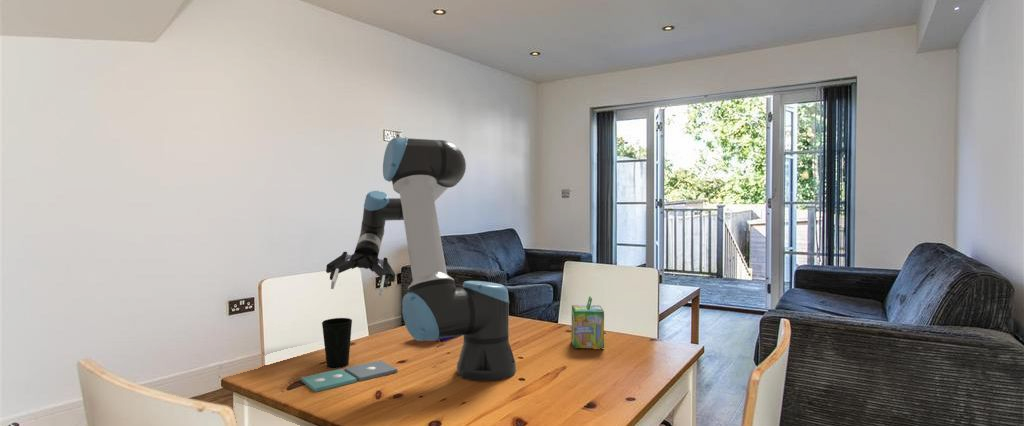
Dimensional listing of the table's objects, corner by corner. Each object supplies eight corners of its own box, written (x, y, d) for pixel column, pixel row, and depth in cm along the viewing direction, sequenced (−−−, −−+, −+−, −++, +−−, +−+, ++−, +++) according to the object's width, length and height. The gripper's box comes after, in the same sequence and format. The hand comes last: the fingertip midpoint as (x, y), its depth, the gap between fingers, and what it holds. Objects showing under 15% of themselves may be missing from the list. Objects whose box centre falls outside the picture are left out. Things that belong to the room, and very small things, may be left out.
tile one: (397, 372, 130) (397, 368, 130) (360, 381, 124) (360, 377, 124) (380, 362, 138) (380, 359, 138) (344, 370, 131) (344, 367, 131)
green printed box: (571, 341, 159) (570, 294, 158) (600, 341, 158) (600, 294, 158) (573, 349, 149) (573, 300, 149) (604, 349, 149) (604, 300, 149)
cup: (358, 362, 138) (358, 319, 138) (338, 371, 131) (337, 325, 131) (337, 359, 141) (336, 316, 141) (316, 367, 134) (315, 322, 134)
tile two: (356, 382, 123) (356, 378, 123) (315, 392, 117) (315, 388, 117) (340, 371, 131) (340, 368, 131) (301, 380, 124) (300, 377, 124)
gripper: (404, 264, 168) (398, 304, 150) (326, 253, 163) (310, 293, 144) (407, 245, 165) (402, 283, 146) (328, 233, 160) (312, 271, 141)
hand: (356, 288), depth 145 cm, fingers open, 13 cm apart
